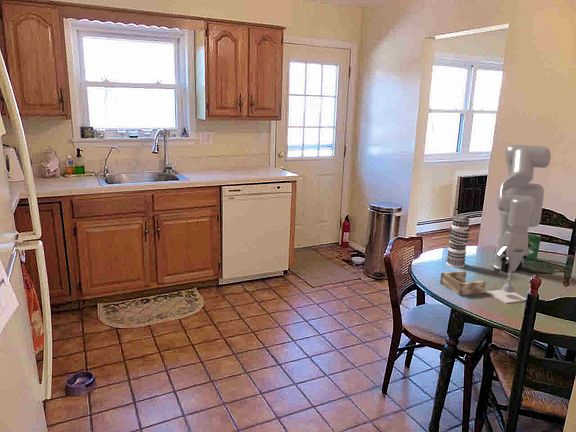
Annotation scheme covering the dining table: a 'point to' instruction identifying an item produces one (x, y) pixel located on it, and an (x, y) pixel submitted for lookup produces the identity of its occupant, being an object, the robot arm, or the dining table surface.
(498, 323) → the dining table surface
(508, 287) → the chalice
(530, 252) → the coffee box
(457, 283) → the cubby
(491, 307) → the dining table surface
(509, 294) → the mat
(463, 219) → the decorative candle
